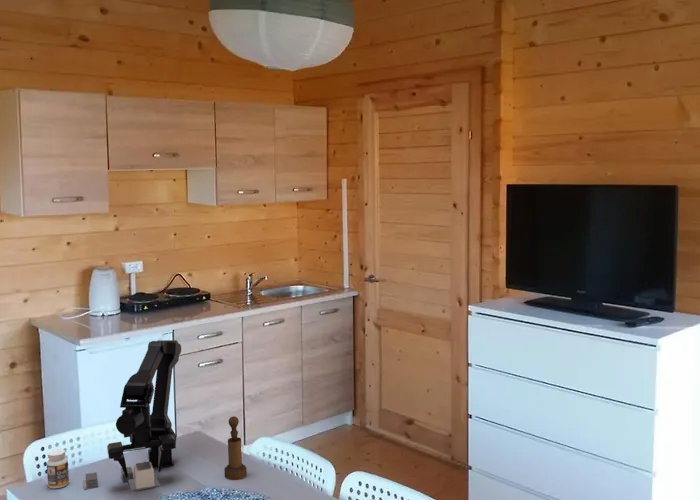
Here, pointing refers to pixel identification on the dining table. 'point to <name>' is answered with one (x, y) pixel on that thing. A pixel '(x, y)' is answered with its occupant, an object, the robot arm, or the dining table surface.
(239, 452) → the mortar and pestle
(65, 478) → the pill bottle
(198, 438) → the dining table surface
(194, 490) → the dining table surface
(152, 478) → the beige open box
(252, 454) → the dining table surface
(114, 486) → the dining table surface
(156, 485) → the mat
